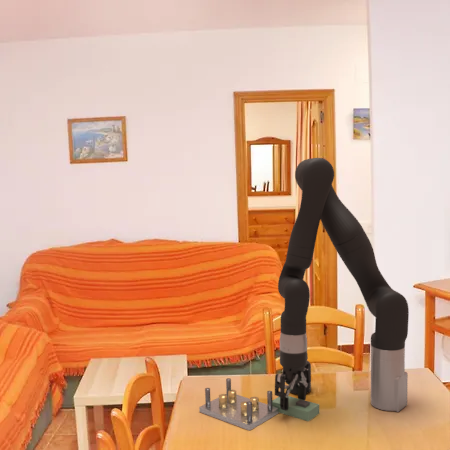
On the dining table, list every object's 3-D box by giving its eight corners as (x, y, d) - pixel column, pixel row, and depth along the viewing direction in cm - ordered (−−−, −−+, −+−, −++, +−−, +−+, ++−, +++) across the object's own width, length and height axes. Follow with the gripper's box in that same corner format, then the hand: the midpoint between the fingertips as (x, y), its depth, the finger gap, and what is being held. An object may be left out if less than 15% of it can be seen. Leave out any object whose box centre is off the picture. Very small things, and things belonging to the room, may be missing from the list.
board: (319, 414, 152) (319, 400, 152) (308, 422, 148) (308, 408, 147) (282, 404, 160) (282, 390, 159) (271, 411, 155) (270, 397, 155)
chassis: (278, 413, 153) (278, 390, 152) (249, 430, 143) (248, 406, 143) (229, 396, 165) (229, 375, 164) (199, 412, 155) (198, 389, 154)
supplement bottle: (310, 396, 164) (310, 357, 163) (287, 394, 165) (286, 356, 164) (311, 387, 171) (311, 349, 169) (289, 386, 172) (288, 348, 171)
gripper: (289, 357, 144) (289, 417, 146) (318, 344, 155) (318, 400, 156) (266, 351, 149) (267, 409, 151) (296, 339, 160) (296, 393, 161)
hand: (293, 404), depth 153 cm, fingers open, 8 cm apart
